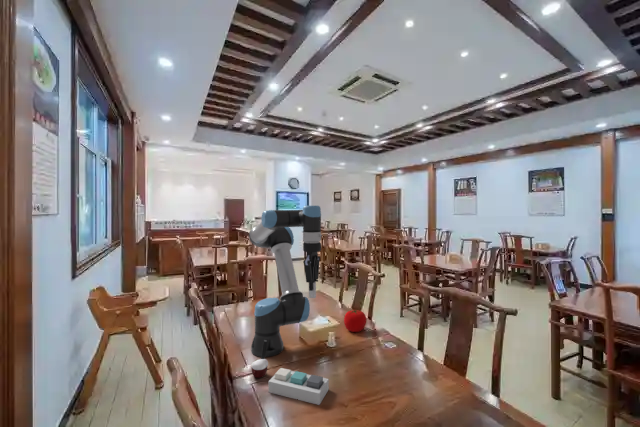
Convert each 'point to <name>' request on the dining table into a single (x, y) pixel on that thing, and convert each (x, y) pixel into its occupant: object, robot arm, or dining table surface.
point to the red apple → (355, 320)
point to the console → (298, 390)
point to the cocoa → (260, 364)
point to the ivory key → (283, 374)
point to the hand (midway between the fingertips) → (312, 297)
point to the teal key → (299, 378)
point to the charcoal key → (315, 382)
